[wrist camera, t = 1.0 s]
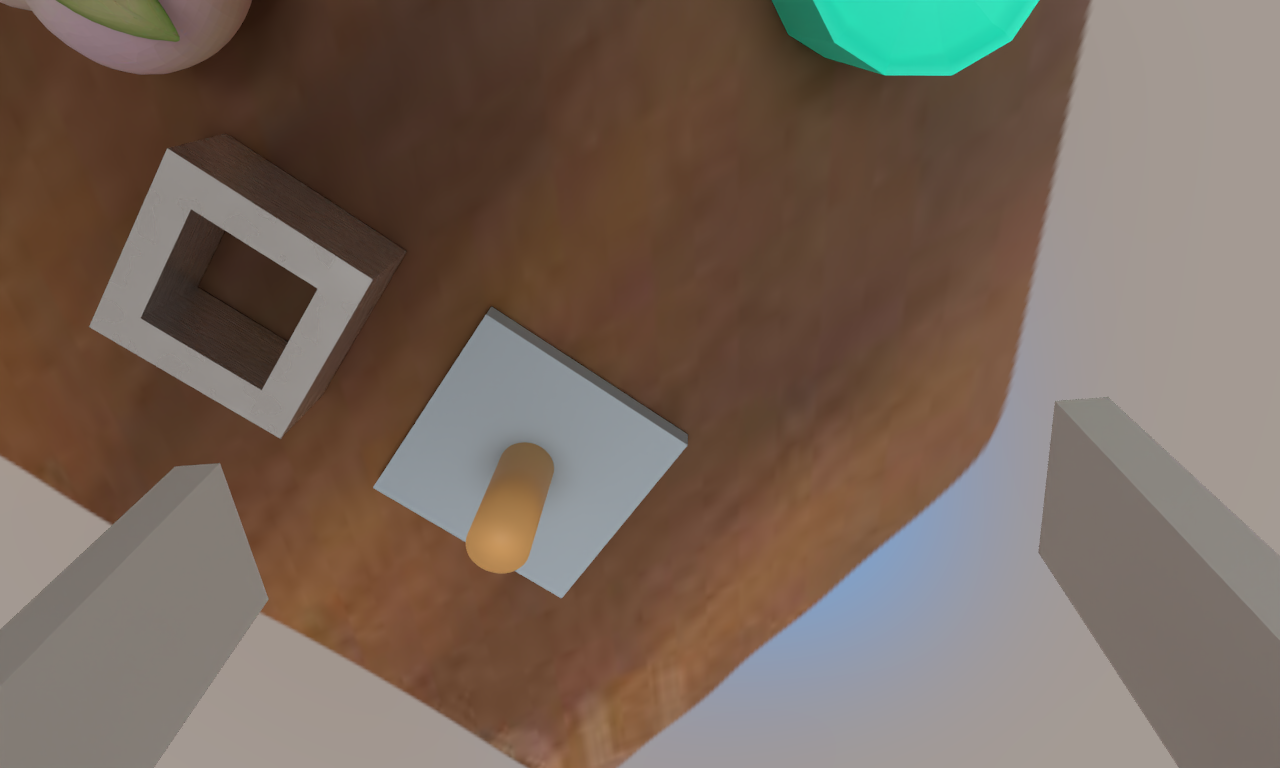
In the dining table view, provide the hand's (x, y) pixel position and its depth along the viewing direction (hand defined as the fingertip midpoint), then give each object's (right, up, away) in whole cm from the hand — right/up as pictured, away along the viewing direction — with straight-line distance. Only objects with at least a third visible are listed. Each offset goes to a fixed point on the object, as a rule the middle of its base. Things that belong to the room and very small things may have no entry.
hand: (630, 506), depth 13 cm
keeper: (-5, -1, +24) cm, 25 cm away
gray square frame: (-15, +7, +21) cm, 27 cm away
